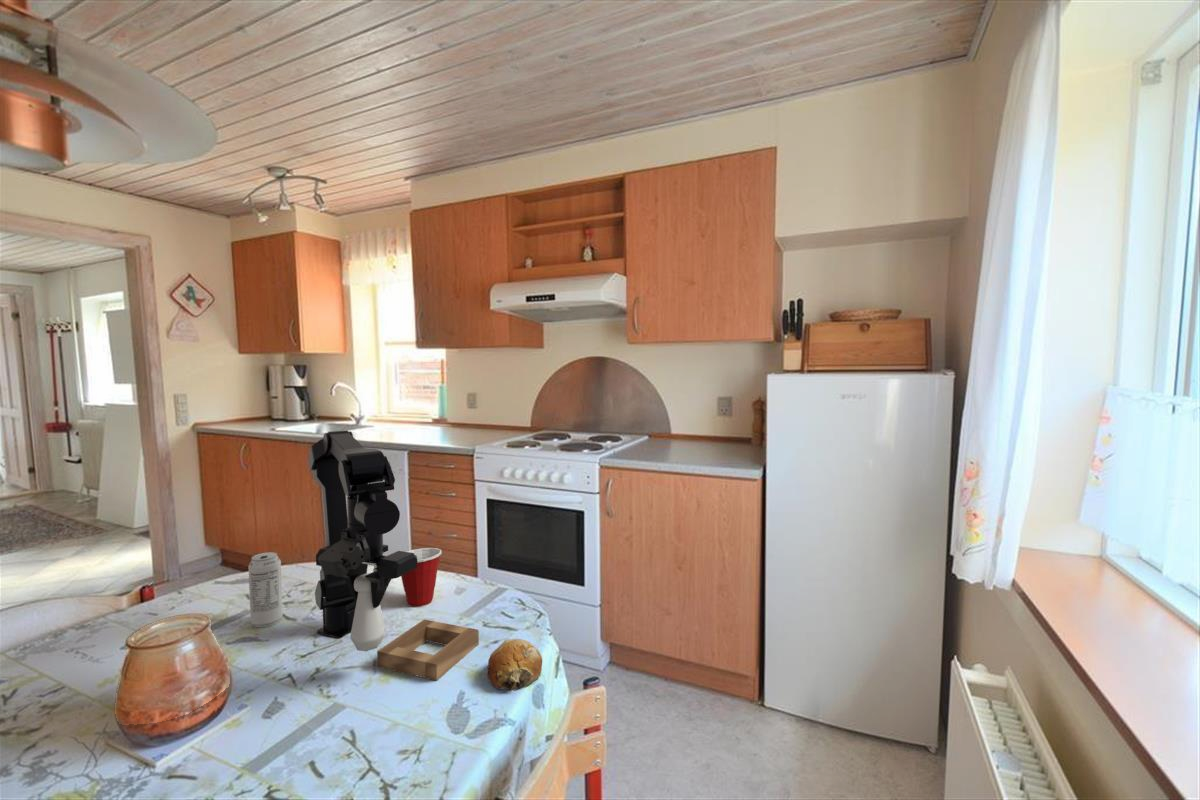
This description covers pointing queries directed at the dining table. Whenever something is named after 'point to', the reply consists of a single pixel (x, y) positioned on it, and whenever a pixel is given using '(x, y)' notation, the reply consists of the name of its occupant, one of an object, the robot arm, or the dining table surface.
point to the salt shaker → (366, 618)
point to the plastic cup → (422, 577)
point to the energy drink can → (265, 589)
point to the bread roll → (514, 664)
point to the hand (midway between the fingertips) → (367, 605)
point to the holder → (423, 664)
